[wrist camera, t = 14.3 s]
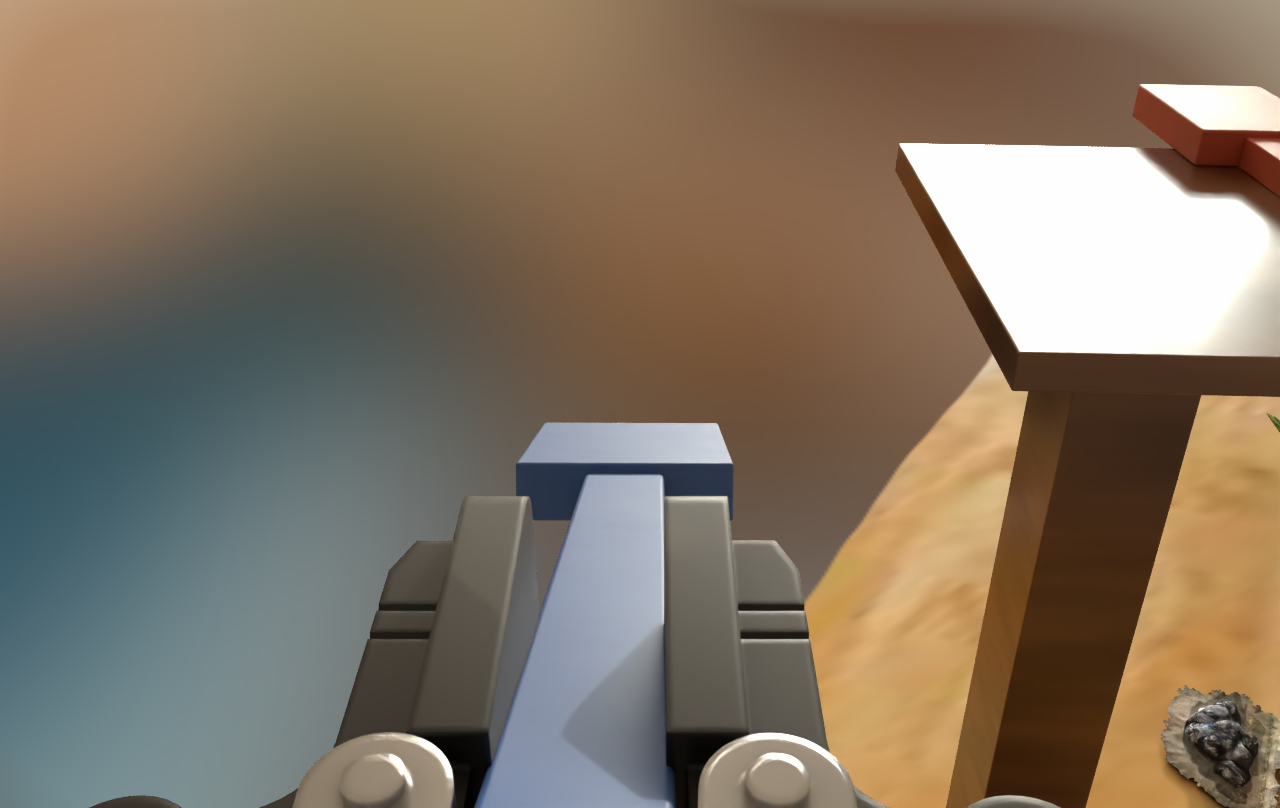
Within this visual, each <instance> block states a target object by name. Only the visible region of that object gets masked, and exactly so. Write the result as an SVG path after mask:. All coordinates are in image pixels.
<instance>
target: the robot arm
mask: <svg viewBox="0 0 1280 808" xmlns="http://www.w3.org/2000/svg"><path fill="white" fill-rule="evenodd" d="M538 624H539V604H538V588H537V574H536V560H535V545H534V531H533V516H532V506H531V500H530V497H529V496H516V497H515V496H508V497H507V496H481V497H480V496H475V497H474V496H466V497H464V499H463V502H462V505H461V509H460V513H459V517H458V521H457V525H456V530H455V534H454V538H453V541H416V542H415V543H414V544H413V546H412V547H411V548H410V549H409V550H408V551H407V552H406V553H405V554H404V555H403V557H401V558H400V559H399V560H398V562H397V563H396V564H395V565H394V566H393V567H392V568H391V569H390V570H389V572H388V576H387V579H386V582H385V585H384V589H383V592H382V595H381V599H380V602H379V610H378V611H376V614H375V618H374V621H373V624H372V627H371V631H370V639H368V641H367V643H366V647H365V650H364V653H363V656H362V660H361V663H360V666H359V669H358V672H357V676H356V679H355V682H354V686H353V689H352V692H351V695H350V698H349V702H348V705H347V708H346V712H345V715H344V718H343V721H342V724H341V727H340V731H339V734H338V737H337V740H336V743H335V745H334V748H333V749H332V750H331V751H329V752H328V753H326V754H325V755H323V757H321V758H320V759H319V760H318V761H317V762H316V763H315V764H314V765H313V766H312V767H311V768H310V769H309V771H308V772H307V773H306V775H305V776H304V778H303V780H302V781H301V783H300V786H299V788H298V789H296V790H295V791H293V792H292V793H290V794H288V795H287V796H285V797H283V798H282V799H279V800H277V801H275V802H273V803H270V804H268V805H266V806H263V807H260V808H474V806H475V803H476V800H477V798H478V795H479V792H480V789H481V786H482V783H483V780H484V777H485V774H486V771H487V769H488V767H489V766H492V763H493V760H494V757H495V754H496V751H497V748H498V745H499V742H500V739H501V736H502V733H503V730H504V727H505V724H506V721H507V718H508V715H509V712H510V709H511V706H512V703H513V700H514V697H515V694H516V691H517V687H518V684H519V681H520V678H521V675H522V672H523V669H524V666H525V663H526V660H527V657H528V654H529V651H530V648H531V645H532V642H533V639H534V636H535V633H536V630H537V627H538ZM664 651H665V713H666V766H669V767H672V769H673V771H674V773H675V787H676V808H889V807H887V806H885V805H883V804H881V803H879V802H877V801H875V800H873V799H872V798H870V797H868V796H867V795H865V794H864V793H862V792H861V791H860V790H859V789H857V788H856V787H855V786H854V785H853V783H852V781H851V778H850V776H849V774H848V773H847V771H846V770H845V768H844V767H843V765H842V764H841V763H840V762H839V761H838V760H837V759H836V758H835V757H834V756H833V755H832V754H830V752H829V748H828V744H827V740H826V733H825V727H824V721H823V715H822V709H821V703H820V697H819V691H818V685H817V679H816V673H815V667H814V660H813V654H812V648H811V642H810V639H809V630H808V624H807V618H806V612H805V611H804V600H803V594H802V587H801V582H800V576H799V570H798V569H797V568H796V566H795V565H794V564H793V563H792V561H791V560H790V559H789V558H788V556H787V555H786V554H785V553H784V551H783V550H782V549H781V548H780V546H779V545H778V544H777V543H776V541H732V536H731V524H730V513H729V503H728V497H727V496H664ZM90 808H181V807H180V806H179V805H178V804H175V803H173V802H171V801H169V800H167V799H163V798H159V797H154V796H128V797H122V798H117V799H113V800H109V801H106V802H103V803H100V804H97V805H95V806H92V807H90ZM967 808H1061V807H1058V806H1056V805H1054V804H1052V803H1049V802H1046V801H1043V800H1039V799H1036V798H1031V797H1025V796H1014V795H1004V796H994V797H990V798H986V799H982V800H980V801H978V802H975V803H973V804H971V805H970V806H968V807H967Z"/></svg>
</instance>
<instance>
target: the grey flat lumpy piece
mask: <svg viewBox="0 0 1280 808" xmlns="http://www.w3.org/2000/svg"><path fill="white" fill-rule="evenodd" d="M1178 689H1179V690H1177V691H1178V692H1179V693H1180V695H1179V697H1174V699H1173V700H1172V701H1173V702H1172V703H1171V704H1170V705H1169V706H1170V707H1169V709H1168V710H1167V712H1168V713H1169V714H1170V717H1169V718H1168V719H1169V722H1167V721H1164V723H1165V725H1166V727H1167V729H1163V733H1162V734H1161V735H1162V738H1161V739H1162V740H1163V742H1164V745H1165V746H1166V747H1165V750H1166V752H1167V755H1166V757H1165V758H1166V761H1169V763H1172V765H1173V766H1174V767H1176V768H1177V769H1179V772H1180V774H1181V775H1184V776H1185V777H1187V779H1188V778H1195V779H1194V781H1196V782H1198V784H1197V786H1198V787H1200V786H1202V787H1203V788H1204V789H1205V791H1206V792H1208V793H1209V795H1210V794H1211V795H1212V796H1213V797H1215V799H1216V801H1217V802H1219V803H1220V804H1222V805H1223V806H1225V807H1227V806H1229V808H1276V806H1277V805H1278V804H1279V803H1278V802H1277V801H1276V799H1275V797H1274V796H1277V797H1278V795H1276V794H1277V792H1278V791H1280V790H1279V788H1280V785H1279V784H1278V782H1277V780H1276V779H1275V777H1274V776H1276V775H1274V774H1275V772H1276V770H1275V769H1278V768H1280V719H1279V718H1277V717H1275V716H1273V714H1271V713H1265V712H1263V711H1262V710H1261V708H1260V706H1259V705H1256V706H1254V705H1252V703H1253V702H1252V700H1249V698H1248V696H1245V694H1239V693H1238V692H1234V693H1232V694H1230V695H1225V693H1224V692H1222V691H1220V690H1219V691H1220V692H1219V691H1217V690H1215V691H1212V692H1213V693H1208V694H1209V695H1203V694H1201V693H1200V692H1199V691H1196V690H1195V689H1194V688H1192V689H1189V688H1187V686H1186V685H1185V688H1184V690H1181V689H1180V688H1178ZM1180 728H1181V729H1180Z"/></svg>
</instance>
